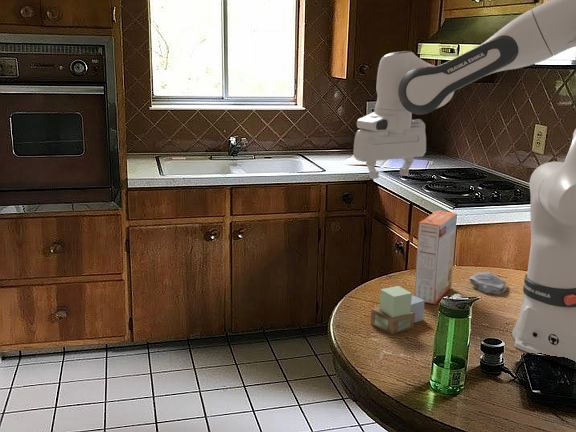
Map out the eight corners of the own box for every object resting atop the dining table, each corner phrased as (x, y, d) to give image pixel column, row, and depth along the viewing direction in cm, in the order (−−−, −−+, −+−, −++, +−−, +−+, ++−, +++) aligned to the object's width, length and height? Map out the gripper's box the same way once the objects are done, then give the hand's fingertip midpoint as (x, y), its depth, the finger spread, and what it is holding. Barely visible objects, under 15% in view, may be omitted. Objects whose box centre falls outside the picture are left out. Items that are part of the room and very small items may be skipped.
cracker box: (430, 283, 177) (436, 209, 171) (451, 288, 174) (459, 212, 169) (411, 300, 165) (417, 221, 160) (434, 305, 162) (441, 225, 157)
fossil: (514, 285, 169) (476, 276, 169) (509, 300, 170) (472, 291, 170) (501, 274, 181) (466, 266, 181) (497, 288, 181) (462, 280, 181)
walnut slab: (414, 328, 150) (415, 312, 149) (392, 336, 146) (393, 319, 145) (391, 317, 155) (393, 302, 154) (370, 324, 151) (371, 309, 150)
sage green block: (410, 313, 148) (411, 293, 147) (392, 317, 146) (394, 296, 144) (396, 305, 152) (398, 285, 151) (379, 309, 150) (380, 289, 149)
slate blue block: (423, 320, 154) (424, 300, 153) (408, 325, 151) (409, 305, 150) (407, 312, 158) (408, 293, 157) (392, 317, 155) (394, 298, 154)
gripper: (416, 117, 165) (412, 170, 168) (351, 120, 154) (348, 177, 158) (434, 120, 159) (429, 175, 163) (367, 124, 149) (364, 183, 153)
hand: (389, 176), depth 160 cm, fingers open, 8 cm apart
